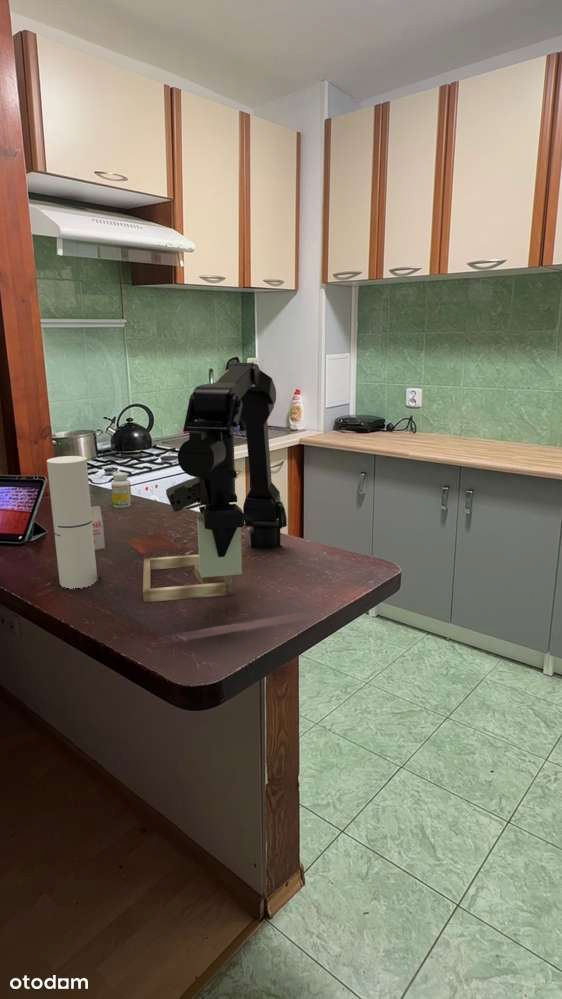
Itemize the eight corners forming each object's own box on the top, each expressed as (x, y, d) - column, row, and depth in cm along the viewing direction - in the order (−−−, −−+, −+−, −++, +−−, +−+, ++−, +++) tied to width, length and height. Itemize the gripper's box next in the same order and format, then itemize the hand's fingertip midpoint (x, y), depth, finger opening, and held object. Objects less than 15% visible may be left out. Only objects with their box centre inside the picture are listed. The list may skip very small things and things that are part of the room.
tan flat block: (218, 571, 122) (218, 562, 122) (227, 582, 117) (227, 572, 117) (194, 575, 121) (194, 565, 120) (202, 586, 115) (202, 576, 115)
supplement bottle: (123, 509, 173) (120, 476, 170) (109, 507, 175) (106, 474, 173) (135, 504, 177) (133, 472, 175) (121, 502, 180) (119, 471, 177)
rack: (222, 568, 128) (221, 541, 126) (232, 601, 112) (231, 571, 110) (145, 574, 125) (143, 547, 123) (144, 609, 109) (141, 578, 107)
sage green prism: (239, 566, 107) (237, 512, 104) (241, 574, 103) (240, 518, 101) (199, 569, 105) (196, 515, 103) (200, 577, 102) (198, 521, 100)
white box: (72, 549, 140) (67, 507, 138) (101, 544, 143) (98, 504, 141) (74, 554, 137) (70, 511, 134) (105, 549, 140) (101, 507, 137)
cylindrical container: (84, 590, 117) (72, 464, 110) (52, 586, 119) (38, 462, 112) (104, 577, 124) (93, 456, 117) (73, 573, 125) (61, 455, 119)
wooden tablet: (202, 569, 130) (202, 561, 129) (157, 577, 125) (156, 570, 125) (165, 534, 152) (164, 528, 152) (125, 540, 148) (124, 533, 147)
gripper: (166, 455, 107) (170, 538, 111) (169, 478, 89) (174, 577, 93) (228, 452, 109) (231, 534, 113) (244, 475, 91) (246, 571, 95)
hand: (220, 552), depth 104 cm, fingers closed on sage green prism, 3 cm apart
